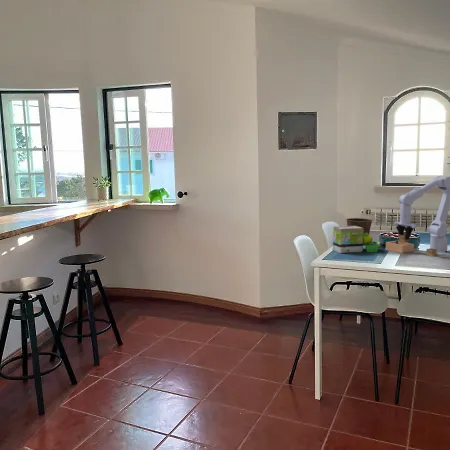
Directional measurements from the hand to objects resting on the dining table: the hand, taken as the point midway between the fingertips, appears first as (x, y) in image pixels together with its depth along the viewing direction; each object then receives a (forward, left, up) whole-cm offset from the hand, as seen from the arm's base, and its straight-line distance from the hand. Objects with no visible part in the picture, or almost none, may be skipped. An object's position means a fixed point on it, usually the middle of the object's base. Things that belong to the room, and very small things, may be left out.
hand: (404, 238), depth 269 cm
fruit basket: (+14, -12, -9) cm, 21 cm away
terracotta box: (0, -3, -8) cm, 9 cm away
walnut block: (0, 0, -2) cm, 2 cm away
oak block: (-7, +14, -8) cm, 17 cm away
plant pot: (+5, -33, -9) cm, 35 cm away
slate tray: (-1, -2, -8) cm, 9 cm away
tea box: (+25, -19, -9) cm, 33 cm away
